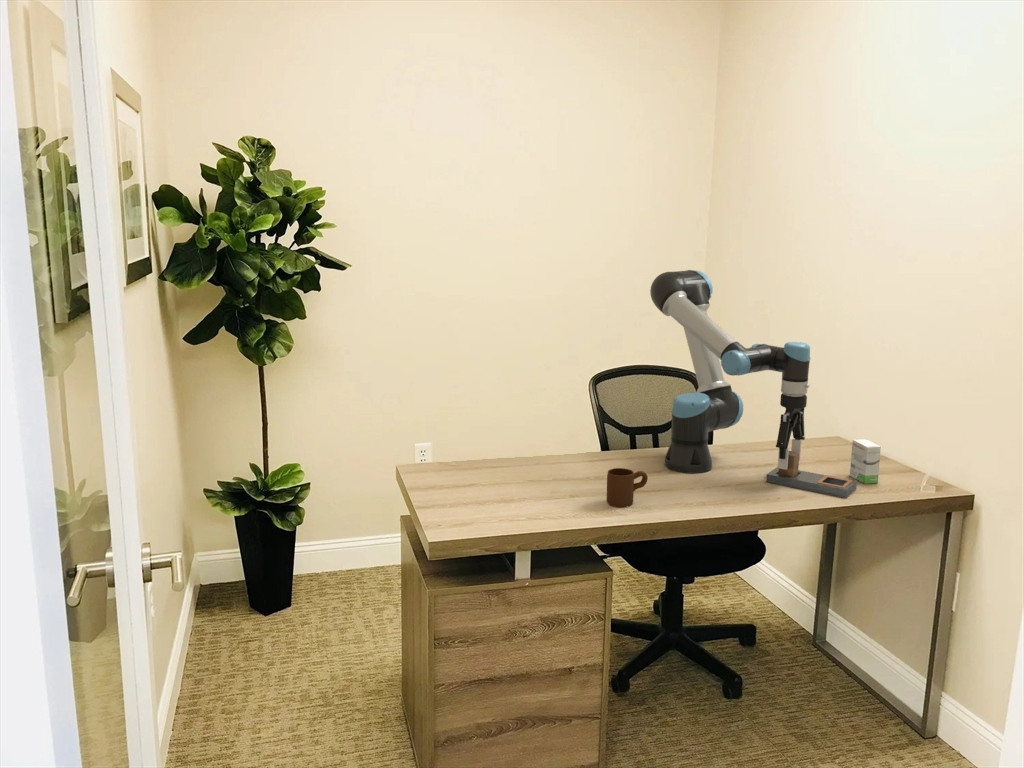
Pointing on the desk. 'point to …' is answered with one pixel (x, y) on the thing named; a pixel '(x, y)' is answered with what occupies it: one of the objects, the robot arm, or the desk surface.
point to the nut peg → (791, 465)
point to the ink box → (865, 461)
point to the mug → (623, 486)
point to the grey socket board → (814, 482)
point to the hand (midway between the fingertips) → (788, 464)
